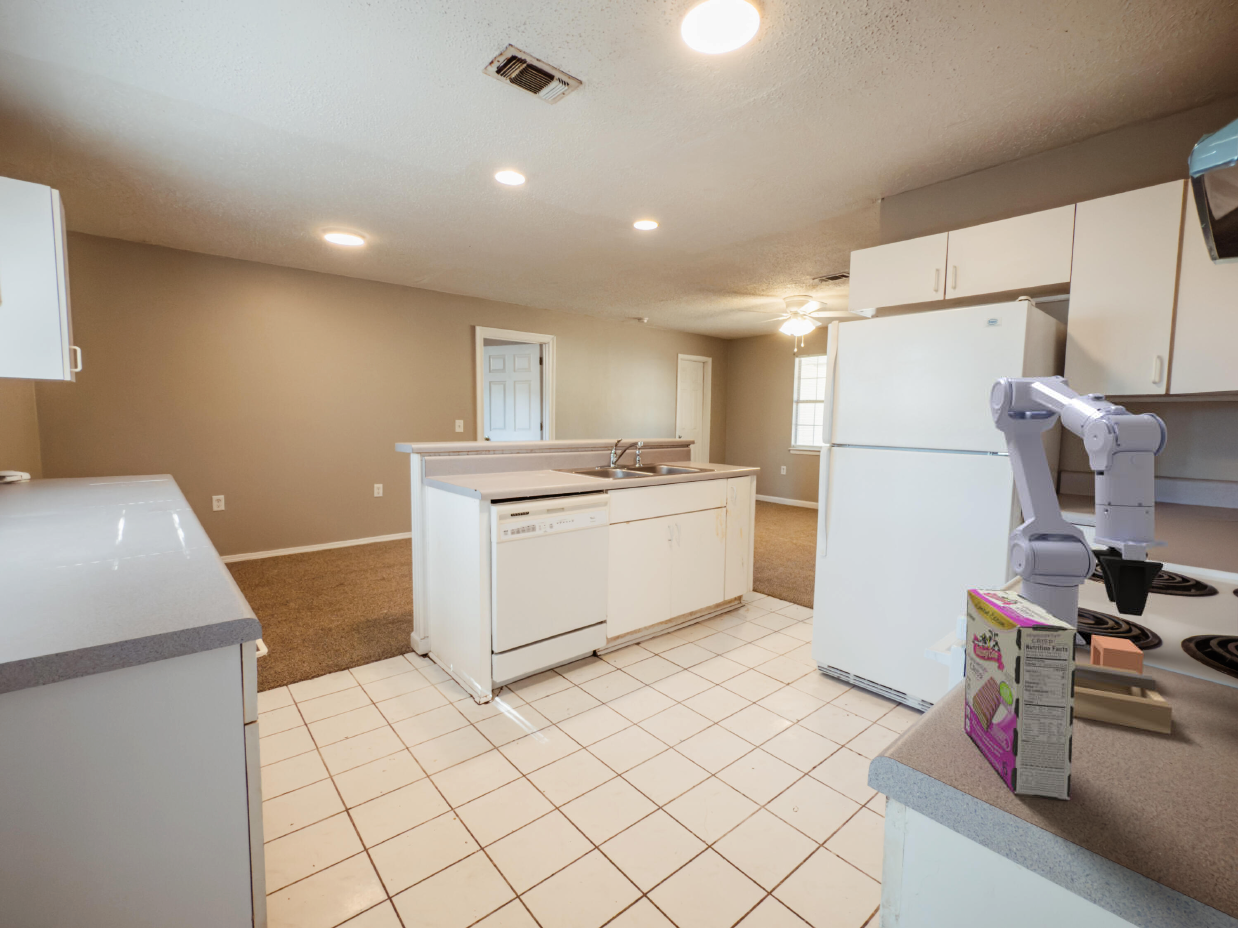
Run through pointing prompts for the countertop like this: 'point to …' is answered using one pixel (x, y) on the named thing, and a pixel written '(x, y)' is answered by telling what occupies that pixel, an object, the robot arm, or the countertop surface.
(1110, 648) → the salmon notched block
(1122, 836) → the countertop surface
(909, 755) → the countertop surface
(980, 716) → the candy bar box
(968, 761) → the countertop surface
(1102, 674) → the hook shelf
